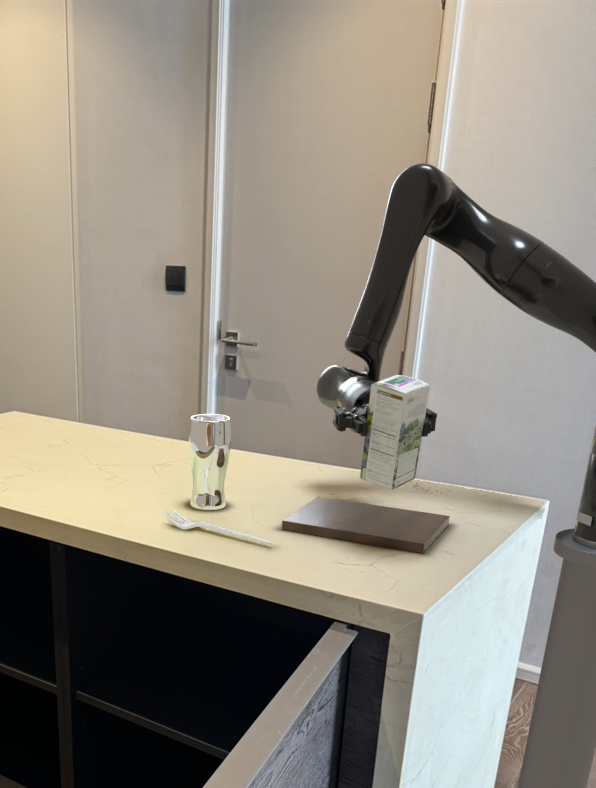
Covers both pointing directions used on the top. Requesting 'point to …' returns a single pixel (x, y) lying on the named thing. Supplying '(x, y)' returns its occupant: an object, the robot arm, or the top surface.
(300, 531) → the walnut board
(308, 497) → the top surface
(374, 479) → the syrup box
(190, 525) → the fork
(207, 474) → the beer glass
